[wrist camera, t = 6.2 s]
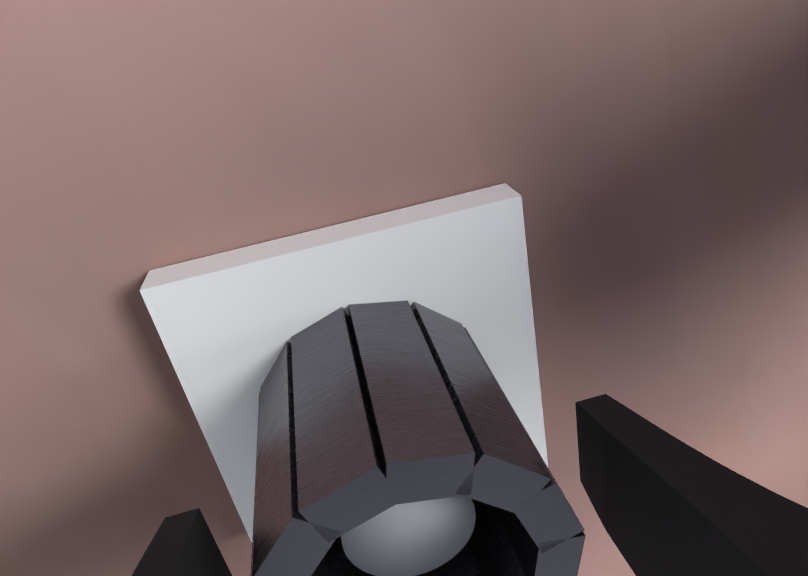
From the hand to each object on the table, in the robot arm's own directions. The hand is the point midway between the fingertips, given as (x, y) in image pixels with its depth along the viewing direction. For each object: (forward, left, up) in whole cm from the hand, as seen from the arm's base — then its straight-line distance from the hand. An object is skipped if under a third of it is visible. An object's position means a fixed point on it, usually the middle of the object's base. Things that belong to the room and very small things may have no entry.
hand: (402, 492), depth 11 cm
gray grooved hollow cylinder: (0, 0, -3) cm, 3 cm away
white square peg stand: (0, 0, -4) cm, 4 cm away
